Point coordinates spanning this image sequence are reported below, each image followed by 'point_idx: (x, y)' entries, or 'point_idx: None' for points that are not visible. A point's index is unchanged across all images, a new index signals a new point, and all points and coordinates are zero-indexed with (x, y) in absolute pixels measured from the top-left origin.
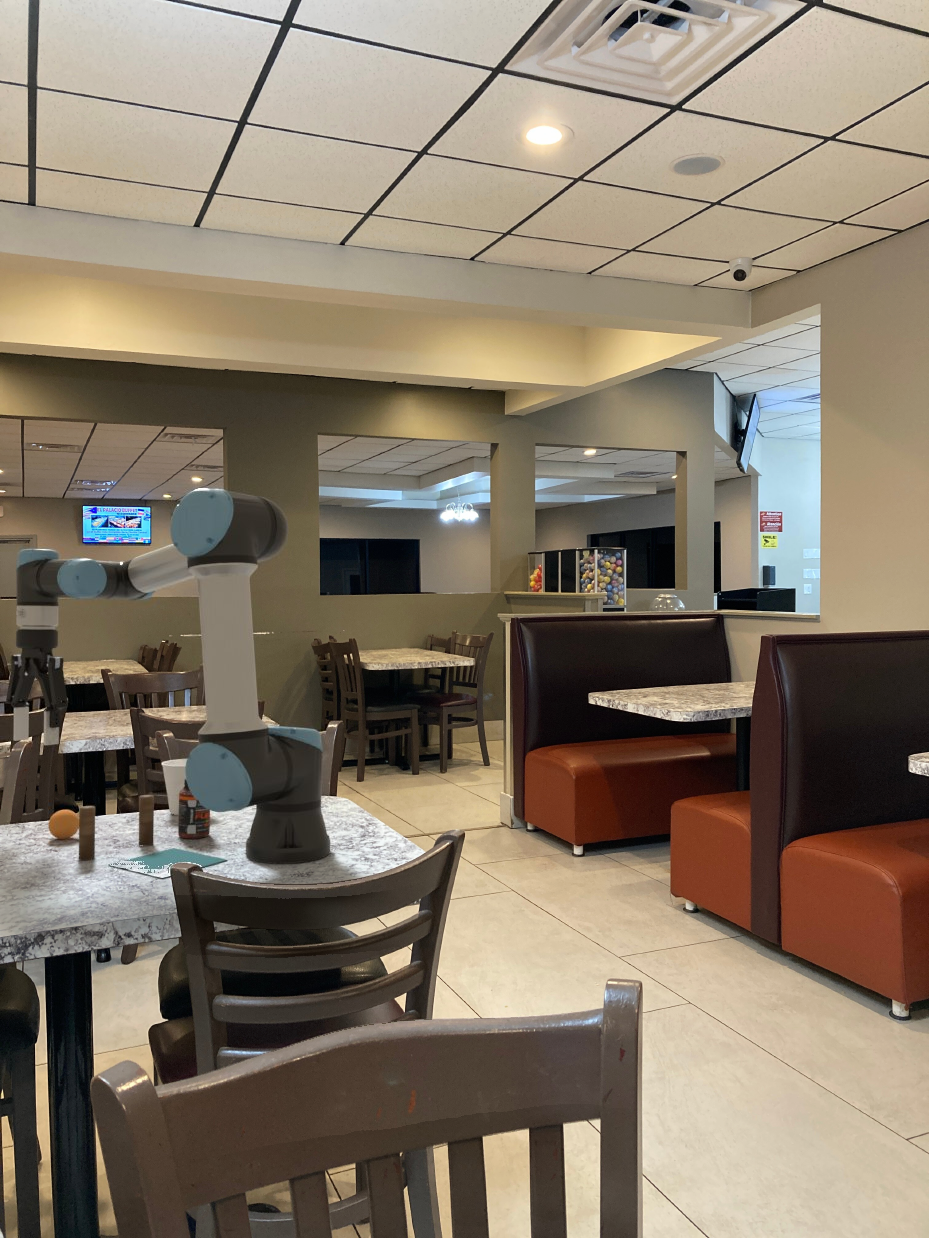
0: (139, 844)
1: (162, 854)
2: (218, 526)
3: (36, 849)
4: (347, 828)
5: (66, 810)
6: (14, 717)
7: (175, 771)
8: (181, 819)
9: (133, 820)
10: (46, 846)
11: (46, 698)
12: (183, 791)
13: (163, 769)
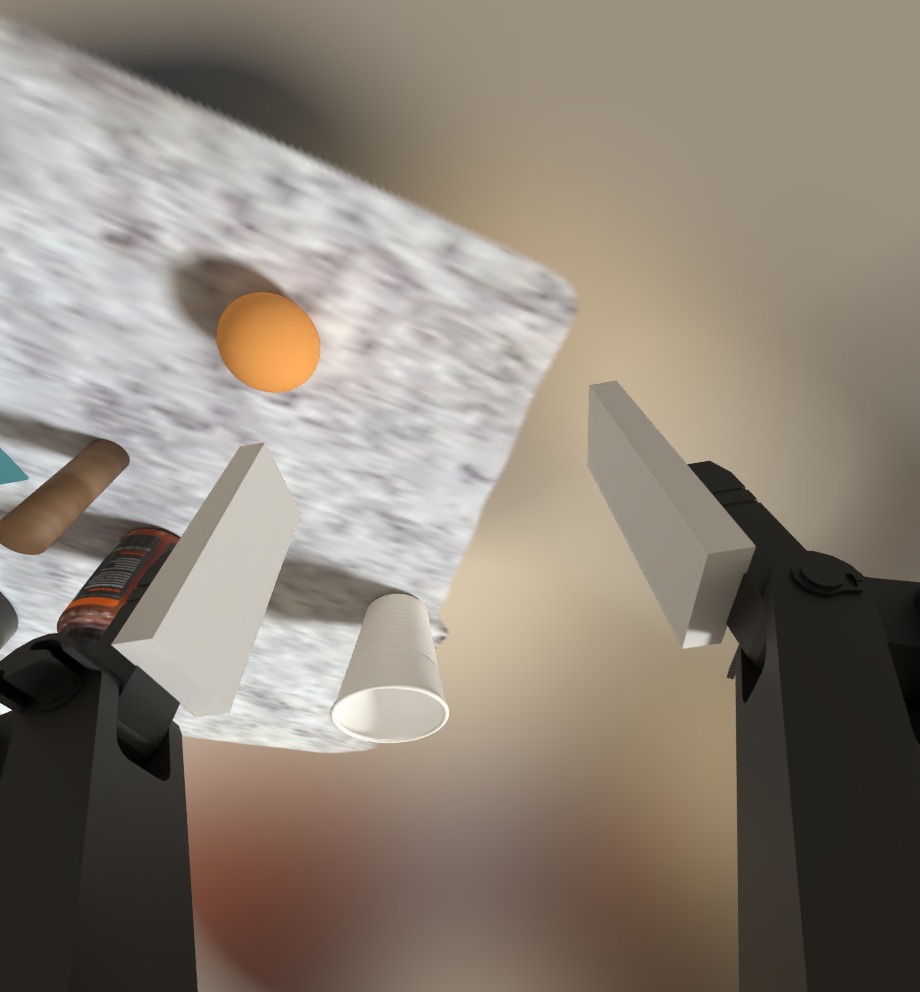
0: (100, 440)
1: None
2: None
3: (166, 194)
4: None
5: (248, 365)
6: (682, 478)
7: (355, 680)
8: (117, 557)
9: (395, 527)
10: (199, 241)
11: (26, 818)
12: (79, 618)
13: (405, 674)
